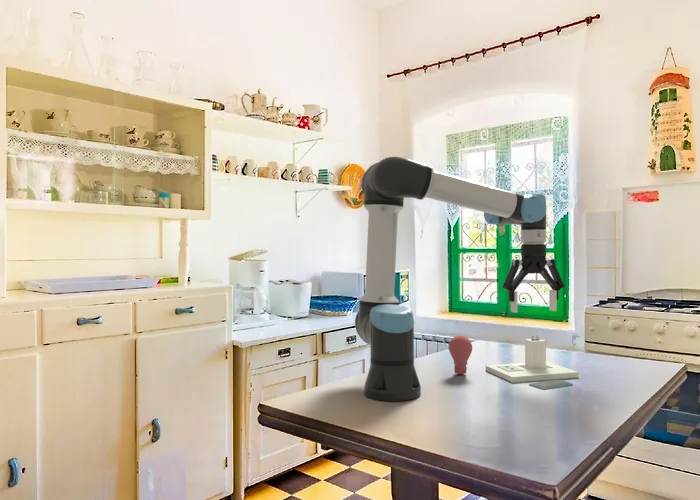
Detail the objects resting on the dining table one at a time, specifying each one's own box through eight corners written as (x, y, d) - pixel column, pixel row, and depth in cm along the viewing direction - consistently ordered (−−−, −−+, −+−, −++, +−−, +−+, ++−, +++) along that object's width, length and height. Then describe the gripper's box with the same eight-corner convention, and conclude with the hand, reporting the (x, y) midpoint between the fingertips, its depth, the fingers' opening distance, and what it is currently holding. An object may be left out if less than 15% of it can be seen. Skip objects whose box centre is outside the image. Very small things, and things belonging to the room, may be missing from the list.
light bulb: (466, 378, 164) (466, 338, 164) (444, 375, 168) (444, 336, 168) (476, 374, 170) (476, 335, 170) (455, 371, 174) (455, 333, 174)
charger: (533, 374, 169) (532, 336, 169) (525, 370, 173) (524, 334, 173) (546, 373, 170) (545, 335, 170) (537, 370, 174) (537, 333, 174)
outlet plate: (512, 382, 159) (512, 375, 159) (485, 370, 174) (485, 364, 174) (578, 377, 164) (578, 370, 164) (547, 366, 180) (546, 360, 180)
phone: (543, 391, 151) (543, 387, 151) (529, 387, 156) (529, 383, 156) (573, 387, 155) (573, 383, 155) (557, 382, 160) (557, 378, 160)
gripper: (503, 243, 165) (503, 314, 165) (576, 243, 171) (576, 311, 171) (491, 243, 173) (491, 311, 173) (561, 243, 178) (561, 308, 178)
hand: (533, 311), depth 172 cm, fingers open, 13 cm apart
